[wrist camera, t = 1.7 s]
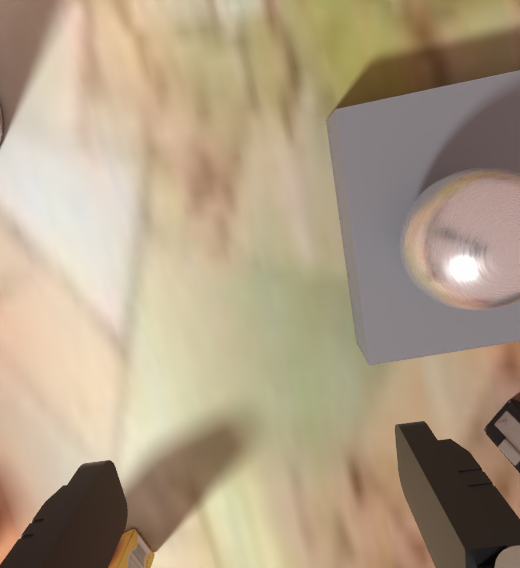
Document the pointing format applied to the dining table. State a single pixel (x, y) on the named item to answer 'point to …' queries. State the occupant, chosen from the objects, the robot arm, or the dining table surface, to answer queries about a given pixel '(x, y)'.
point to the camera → (507, 431)
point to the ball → (466, 239)
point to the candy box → (132, 552)
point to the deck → (401, 195)
